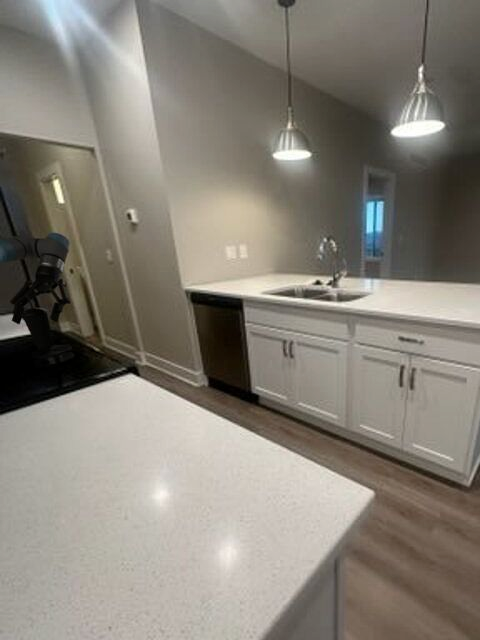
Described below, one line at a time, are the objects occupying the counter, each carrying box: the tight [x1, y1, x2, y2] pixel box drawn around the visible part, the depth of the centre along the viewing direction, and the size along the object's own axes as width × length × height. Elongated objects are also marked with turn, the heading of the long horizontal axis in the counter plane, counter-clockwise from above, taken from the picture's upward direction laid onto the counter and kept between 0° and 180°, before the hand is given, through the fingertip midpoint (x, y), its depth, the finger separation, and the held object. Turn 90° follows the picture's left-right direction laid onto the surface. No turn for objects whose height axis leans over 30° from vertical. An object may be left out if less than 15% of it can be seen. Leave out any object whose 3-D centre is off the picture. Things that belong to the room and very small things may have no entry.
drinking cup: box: [20, 293, 55, 350], centre depth 120 cm, size 8×8×20 cm
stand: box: [30, 344, 76, 370], centre depth 110 cm, size 11×11×4 cm
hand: (34, 321), depth 119 cm, fingers open, 13 cm apart
